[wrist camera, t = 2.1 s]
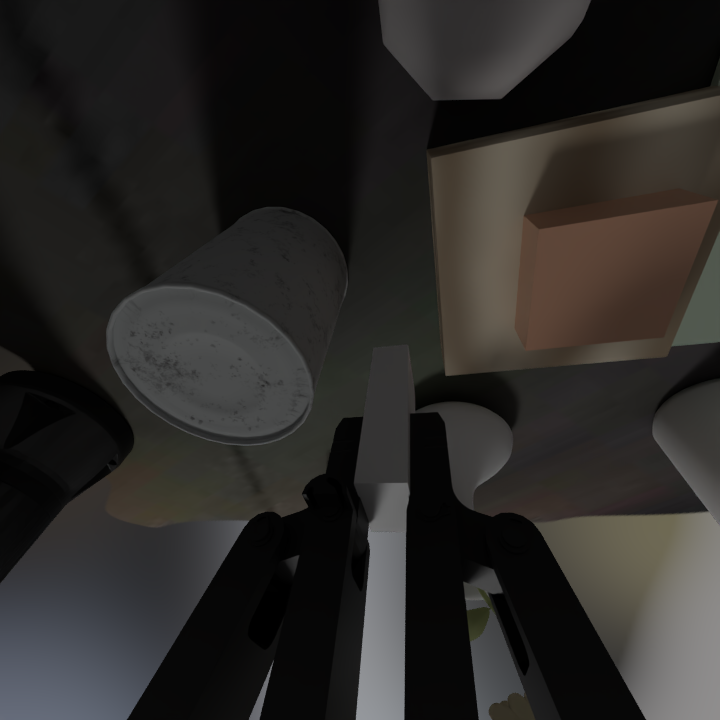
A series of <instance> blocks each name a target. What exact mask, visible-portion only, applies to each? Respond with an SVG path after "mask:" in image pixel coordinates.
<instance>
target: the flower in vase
mask: <svg viewBox="0 0 720 720" xmlns="http://www.w3.org/2000/svg"><path fill="white" fill-rule="evenodd" d="M428 412H438V413H439V414H440V416H441V417H442V419H443V420H444V422H445V427H446V436H447V445H448V454H449V462H450V471H451V480H452V487H453V491H454V493H455V495H456V497H457V499H458V500H459V501H460V502H461V503H462V504H463V505H465V506H466V507H467V508H469V509H471V510H473V511H474V505H473V494H474V490H475V489H476V487H477V486H479V485H480V484H482V483H483V482H485V481H486V480H488V479H489V478H491V477H492V476H493V475H495V474H496V473H497V472H498V471H499V470H500V469H501V468H502V467H503V466H504V465H505V463H506V462H507V461H508V459H509V457H510V455H511V451H512V446H513V435H512V431H511V429H510V427H509V425H508V424H507V423H506V422H505V421H504V419H502V418H501V417H500V416H499V415H497V414H496V413H494V412H492V411H490V410H489V409H487V408H484V407H482V406H479V405H476V404H472V403H467V402H441V403H435V404H431V405H428V406H425V407H423V408H420V409H418V410H416V411H415V413H428ZM463 583H464V592H465V600H485V601H486V603H487V604H488V605H489V607H490V608H486V607H482V608H477V609H472V610H468V611H467V619H468V628H469V637H470V641H472V640H474V639H476V638H478V637H479V636H480V635H481V634H482V633H483V631H484V629H485V626H486V624H487V621H488V618H489V610H490V609H492V611H493V612H494V613H495V611H494V608H493V606H492V603H491V600H490V598H489V595H488V592H487V591H484V590H482V589H480V588H477V587H475V586H473V585H470V584H468V583H466V582H463ZM495 615H496V614H495ZM489 715H490V717H491V718H492V720H535V717H534V715H533V712H532V709H531V707H530V704H529V701H528V699H527V696H526V693H524V697H523V696H521V695H520V694H518V693H512V694H511V695H509V696H508V701H502V702H501V703H494V704H492V705H491V706H490V708H489Z"/></svg>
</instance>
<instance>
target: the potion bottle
mask: <svg viewBox="0 0 720 720" xmlns="http://www.w3.org/2000/svg"><path fill="white" fill-rule="evenodd" d="M590 1H591V0H378V2H379V11H380V20H381V29H382V38H383V44H384V45H385V47H386V48H387V49H388V50H389V51H390V52H391V53H392V55H393V56H394V57H395V58H396V59H397V60H398V61H399V63H400V64H401V65H402V66H403V67H404V68H405V69H406V70H407V72H408V73H409V74H410V75H411V76H412V77H413V78H414V80H415V81H416V82H417V83H418V84H419V85H420V86H421V88H422V89H423V90H424V91H425V92H426V93H427V94H428V95H429V97H430V98H431V99H432V100H473V99H502V98H503V97H504V96H505V95H506V94H507V93H508V92H510V91H511V90H512V89H513V88H514V87H515V86H516V85H517V84H519V83H520V82H521V81H522V80H523V79H524V78H525V77H527V76H528V75H529V74H530V73H531V72H532V71H533V70H535V69H536V68H537V67H538V66H539V65H540V64H541V63H542V62H544V61H545V60H546V59H547V58H548V57H549V56H550V55H552V54H553V53H554V52H555V51H556V50H557V49H558V48H559V47H561V46H562V45H563V44H564V43H565V42H566V41H567V40H569V39H570V38H571V37H572V35H573V34H574V32H575V31H576V29H577V28H578V26H579V25H580V23H581V22H582V20H583V19H584V16H585V14H586V11H587V9H588V6H589V4H590Z"/></svg>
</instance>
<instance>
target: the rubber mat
mask: <svg viewBox="0 0 720 720" xmlns="http://www.w3.org/2000/svg"><path fill="white" fill-rule="evenodd" d="M710 86H720V57H719V61H718V64H717V67H716V70H715V73H714V76H713V79H712V82H711V85H710ZM713 342H720V231H719V234H718V236H717V238H716V241H715V243H714V246H713V248H712V250H711V253H710V255H709V257H708V260H707V262H706V265H705V267H704V269H703V272H702V274H701V277H700V279H699V281H698V284H697V286H696V288H695V291H694V293H693V296H692V298H691V300H690V303H689V305H688V308H687V310H686V312H685V315H684V317H683V319H682V322H681V324H680V327H679V329H678V331H677V334H676V336H675V339H674V341H673V343H672V346H680V345H691V344H702V343H713Z"/></svg>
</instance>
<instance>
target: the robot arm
mask: <svg viewBox="0 0 720 720" xmlns="http://www.w3.org/2000/svg"><path fill="white" fill-rule="evenodd" d="M133 444H134V440H133V435H132V432H131V430H130V428H129V426H128V425H127V423H126V422H125V421H124V419H123V418H122V417H121V416H120V415H119V414H118V413H117V412H116V411H115V410H114V409H113V408H112V407H111V406H110V405H108V404H107V403H106V402H105V401H103V400H102V399H100V398H99V397H98V396H96V395H95V394H93V393H91V392H90V391H88V390H86V389H84V388H82V387H81V386H79V385H76V384H74V383H72V382H70V381H67V380H65V379H62V378H60V377H57V376H53V375H50V374H46V373H42V372H36V371H26V370H24V371H23V370H20V371H12V372H8V373H6V374H4V375H2V376H0V583H1V582H2V581H3V580H4V578H5V577H6V576H7V575H8V574H9V572H10V571H11V570H12V569H13V568H14V566H15V565H16V564H17V563H18V561H19V560H20V559H21V558H22V557H23V556H24V554H25V553H26V552H27V551H28V550H29V548H30V547H31V546H32V545H33V544H34V542H35V541H36V540H37V539H38V538H39V536H40V535H41V534H42V533H43V532H44V530H45V529H46V528H47V527H48V526H49V524H50V523H51V522H52V521H53V520H54V518H55V517H56V516H57V515H58V514H59V512H60V511H61V510H62V509H63V508H64V507H65V506H66V505H67V504H68V503H69V502H70V501H72V500H73V499H75V498H76V497H77V496H79V495H80V494H81V493H83V492H84V491H86V490H87V489H88V488H90V487H91V486H93V485H94V484H95V483H97V482H98V481H100V480H101V479H102V478H104V477H105V476H107V475H108V474H109V473H111V472H112V471H114V470H115V469H116V468H117V467H118V466H119V465H120V464H121V463H122V462H123V461H124V459H125V458H126V457H127V455H128V454H129V453H130V452H131V450H132V448H133ZM302 495H303V497H304V499H305V501H306V503H307V505H308V508H306V509H304V510H302V511H300V512H297V513H294V514H291V515H288V516H285V517H282V518H281V516H280V515H278V514H276V513H275V512H264V513H261V514H258V515H257V516H255V517H254V518H252V519H251V520H250V521H249V522H248V524H247V525H246V526H245V527H244V529H243V531H242V532H241V534H240V535H239V537H238V539H237V540H236V542H235V543H234V545H233V547H232V548H231V550H230V552H229V553H228V555H227V557H226V558H225V560H224V561H223V563H222V565H221V566H220V568H219V570H218V571H217V573H216V575H215V576H214V578H213V580H212V581H211V583H210V585H209V586H208V588H207V590H206V591H205V593H204V594H203V596H202V598H201V599H200V601H199V603H198V604H197V606H196V608H195V609H194V611H193V613H192V614H191V616H190V617H189V619H188V621H187V622H186V624H185V626H184V627H183V629H182V631H181V632H180V634H179V636H178V637H177V639H176V640H175V642H174V644H173V645H172V647H171V649H170V650H169V652H168V653H167V655H166V657H165V659H164V660H163V662H162V663H161V665H160V667H159V668H158V670H157V672H156V673H155V675H154V677H153V678H152V680H151V681H150V683H149V685H148V686H147V688H146V690H145V691H144V693H143V695H142V696H141V698H140V699H139V701H138V703H137V704H136V706H135V708H134V709H133V711H132V713H131V714H130V716H129V718H128V719H127V720H249V717H250V715H251V713H252V710H253V708H254V705H255V703H256V701H257V698H258V696H259V694H260V691H261V689H262V686H263V684H264V681H265V679H266V677H267V674H268V672H269V670H270V667H271V665H272V663H273V666H272V670H271V674H270V678H269V683H268V687H267V691H266V695H265V699H264V703H263V707H262V712H261V716H260V720H356V709H357V697H358V685H359V674H360V662H361V650H362V638H363V627H364V615H365V603H366V590H367V579H368V567H369V556H370V549H369V543H368V540H367V537H368V527H370V529H371V531H372V532H406V611H405V612H406V613H405V619H406V620H405V623H406V624H405V719H404V720H479V719H478V710H477V700H476V691H475V683H474V673H473V664H472V656H471V647H470V637H469V628H468V619H467V610H466V601H465V592H464V583H463V582H466V583H468V584H470V585H473V586H475V587H477V588H480V589H482V590H484V591H487V592H488V595H489V598H490V600H491V603H492V606H493V608H494V611H495V614H496V616H497V619H498V622H499V624H500V627H501V629H502V632H503V635H504V638H505V640H506V643H507V645H508V648H509V651H510V653H511V656H512V659H513V661H514V664H515V667H516V669H517V672H518V675H519V677H520V680H521V683H522V685H523V688H524V690H525V693H526V696H527V699H528V701H529V704H530V707H531V709H532V712H533V715H534V717H535V720H646V719H645V717H644V716H643V714H642V712H641V710H640V709H639V707H638V705H637V703H636V701H635V699H634V698H633V696H632V694H631V692H630V691H629V689H628V687H627V685H626V683H625V682H624V680H623V679H622V676H621V675H620V673H619V671H618V669H617V668H616V666H615V664H614V662H613V660H612V659H611V657H610V655H609V653H608V652H607V650H606V648H605V647H604V644H603V643H602V641H601V639H600V637H599V636H598V634H597V632H596V631H595V629H594V627H593V625H592V623H591V622H590V620H589V618H588V616H587V614H586V613H585V611H584V609H583V607H582V606H581V604H580V602H579V600H578V598H577V597H576V595H575V593H574V591H573V589H572V588H571V586H570V584H569V582H568V581H567V579H566V577H565V575H564V573H563V572H562V570H561V568H560V566H559V565H558V563H557V561H556V559H555V558H554V556H553V554H552V552H551V550H550V549H549V547H548V545H547V543H546V542H545V540H544V538H543V536H542V534H541V533H540V531H539V530H538V529H537V528H536V526H535V525H534V524H533V523H532V522H531V521H529V520H528V519H526V518H525V517H523V516H521V515H518V514H515V513H500V514H498V515H496V516H494V517H491V516H488V515H485V514H481V513H478V512H476V511H473V510H471V509H469V508H467V507H466V506H465V505H463V504H462V503H461V502H460V501H459V500H458V499H457V497H456V495H455V493H454V491H453V487H452V480H451V471H450V462H449V454H448V445H447V436H446V427H445V422H444V420H443V419H442V417H441V416H440V414H439V413H438V412H428V413H415V389H414V382H413V375H412V368H411V361H410V354H409V347H408V344H406V345H396V346H386V347H376V348H373V355H372V362H371V368H370V375H369V382H368V389H367V396H366V403H365V410H364V416H363V417H352V418H343V419H342V421H341V422H340V424H339V425H338V426H337V428H336V431H335V435H334V439H333V444H332V448H331V453H330V457H329V462H328V466H327V470H326V474H323V475H319V476H317V477H316V478H314V479H312V480H311V481H310V482H309V483H308V484H307V485H306V486H305V489H304V491H303V493H302ZM273 660H274V662H273Z"/></svg>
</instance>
